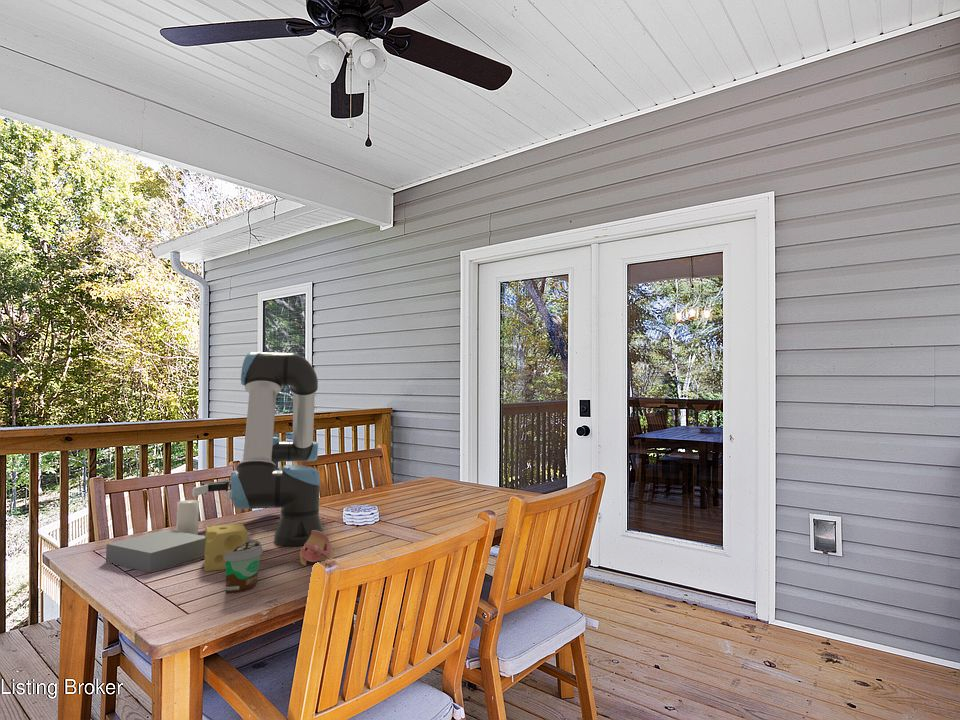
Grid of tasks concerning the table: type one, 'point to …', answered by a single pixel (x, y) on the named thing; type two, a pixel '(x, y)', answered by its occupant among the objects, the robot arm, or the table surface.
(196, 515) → the ceramic jar
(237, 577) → the food container
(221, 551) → the cheese
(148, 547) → the plinth
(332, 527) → the table surface
